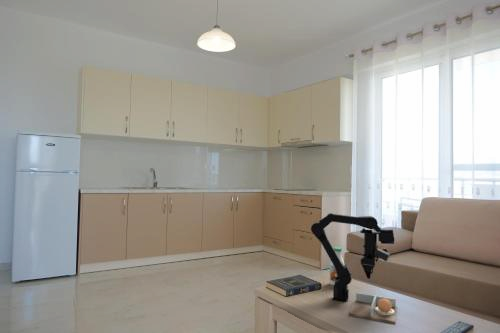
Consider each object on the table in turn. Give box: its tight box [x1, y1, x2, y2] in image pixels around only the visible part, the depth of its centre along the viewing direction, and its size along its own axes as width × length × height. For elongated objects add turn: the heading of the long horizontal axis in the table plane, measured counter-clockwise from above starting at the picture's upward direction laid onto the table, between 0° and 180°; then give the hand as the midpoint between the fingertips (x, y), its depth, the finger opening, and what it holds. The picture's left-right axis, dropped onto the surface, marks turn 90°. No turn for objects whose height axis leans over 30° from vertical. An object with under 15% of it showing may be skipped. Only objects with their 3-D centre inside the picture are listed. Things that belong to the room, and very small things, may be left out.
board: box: [348, 292, 398, 325], centre depth 148 cm, size 18×18×4 cm
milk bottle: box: [329, 246, 345, 286], centre depth 187 cm, size 8×8×20 cm
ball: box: [378, 298, 392, 313], centre depth 145 cm, size 6×6×6 cm
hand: (370, 276), depth 161 cm, fingers open, 9 cm apart
